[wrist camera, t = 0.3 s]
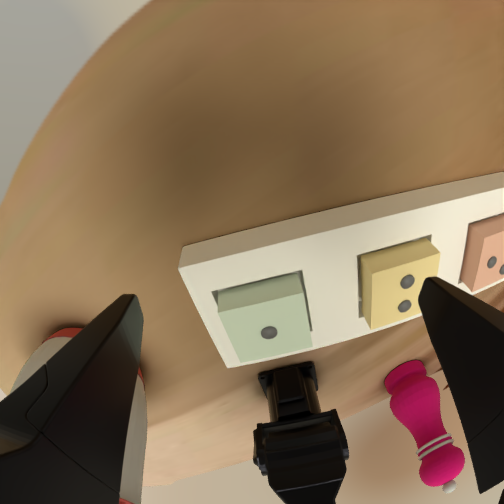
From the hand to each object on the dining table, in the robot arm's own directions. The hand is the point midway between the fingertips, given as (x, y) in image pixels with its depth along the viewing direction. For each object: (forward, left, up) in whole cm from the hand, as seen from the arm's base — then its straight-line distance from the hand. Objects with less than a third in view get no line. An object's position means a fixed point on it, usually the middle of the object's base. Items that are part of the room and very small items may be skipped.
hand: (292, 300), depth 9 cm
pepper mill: (-33, -14, -14) cm, 38 cm away
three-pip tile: (-11, -20, -11) cm, 25 cm away
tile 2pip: (-11, -9, -11) cm, 18 cm away
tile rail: (-11, -9, -14) cm, 20 cm away
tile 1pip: (-11, +2, -11) cm, 16 cm away
